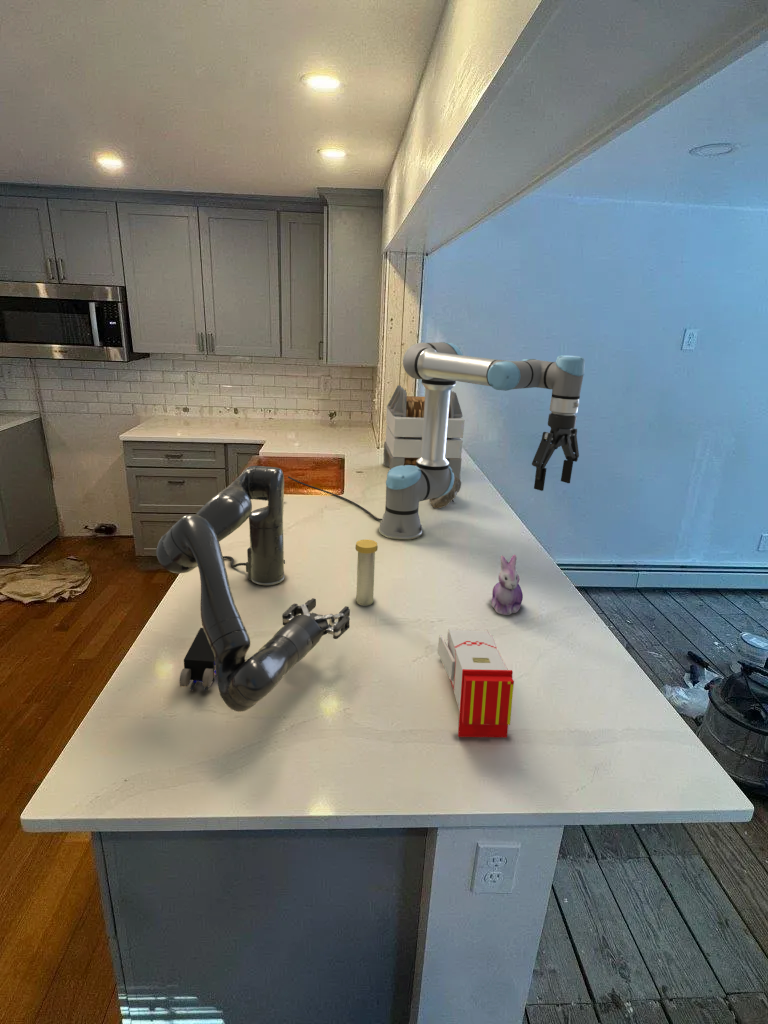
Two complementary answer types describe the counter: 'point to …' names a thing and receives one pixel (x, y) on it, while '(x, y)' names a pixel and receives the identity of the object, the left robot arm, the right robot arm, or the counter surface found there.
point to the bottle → (365, 578)
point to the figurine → (507, 588)
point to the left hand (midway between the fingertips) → (330, 606)
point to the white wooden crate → (418, 431)
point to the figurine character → (198, 663)
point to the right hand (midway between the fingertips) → (552, 485)
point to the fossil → (447, 495)
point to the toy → (478, 682)
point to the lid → (366, 546)
